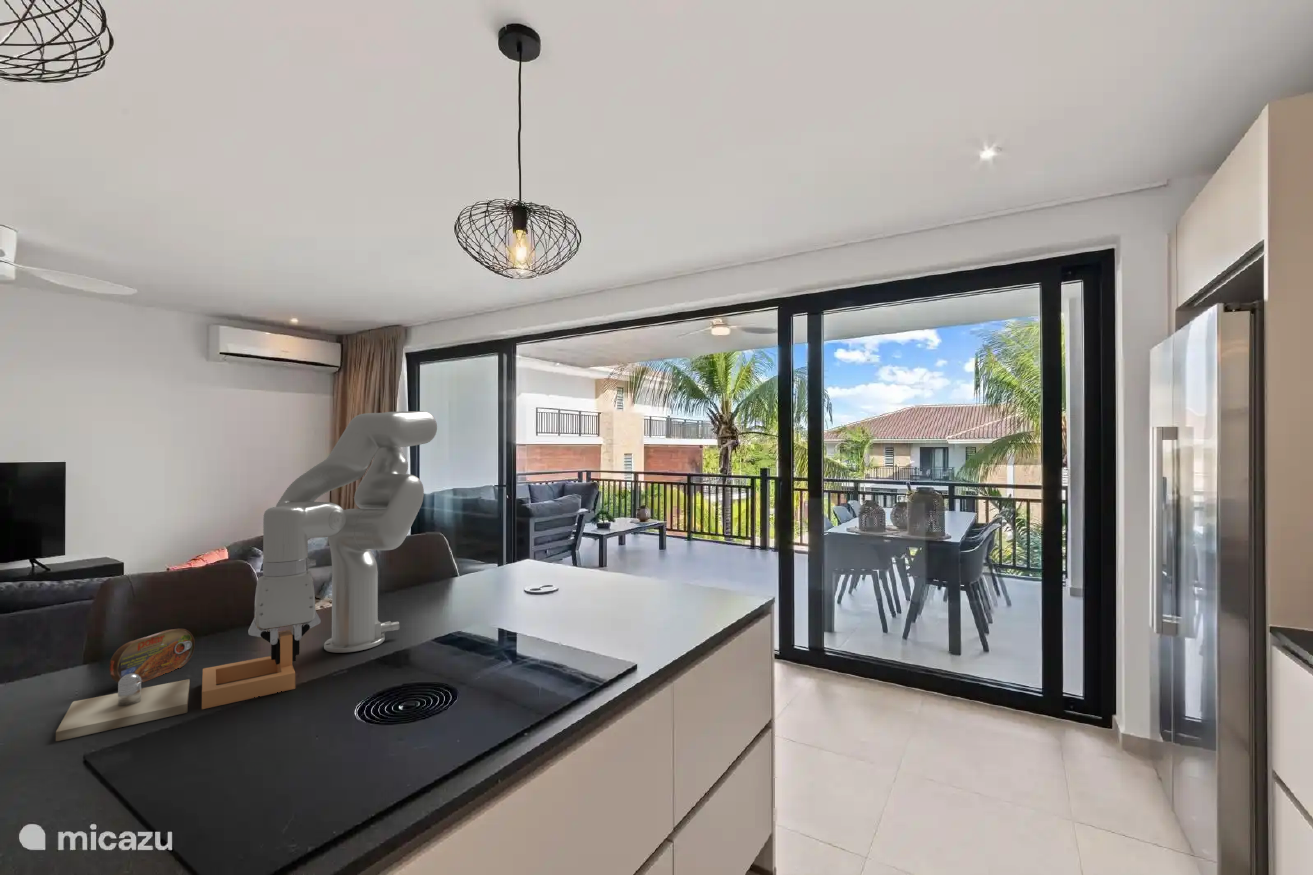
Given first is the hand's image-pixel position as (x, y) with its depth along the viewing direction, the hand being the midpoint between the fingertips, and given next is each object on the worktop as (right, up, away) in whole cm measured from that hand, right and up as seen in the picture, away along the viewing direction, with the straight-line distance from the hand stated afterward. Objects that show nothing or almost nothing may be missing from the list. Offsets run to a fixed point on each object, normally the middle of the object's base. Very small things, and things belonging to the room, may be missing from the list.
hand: (285, 660), depth 115 cm
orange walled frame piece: (-5, -4, -4) cm, 7 cm away
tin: (-28, -4, +2) cm, 29 cm away
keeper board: (-18, -4, -14) cm, 23 cm away
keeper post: (-18, -2, -14) cm, 23 cm away
